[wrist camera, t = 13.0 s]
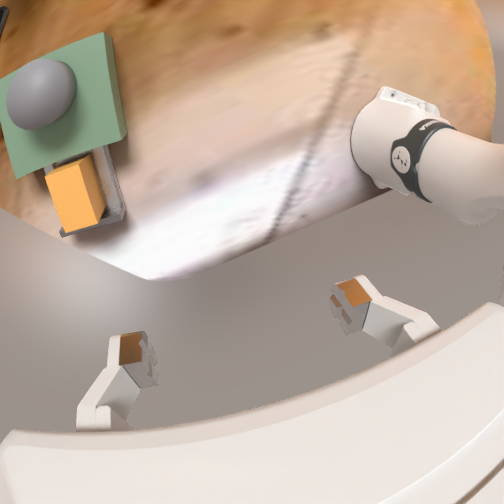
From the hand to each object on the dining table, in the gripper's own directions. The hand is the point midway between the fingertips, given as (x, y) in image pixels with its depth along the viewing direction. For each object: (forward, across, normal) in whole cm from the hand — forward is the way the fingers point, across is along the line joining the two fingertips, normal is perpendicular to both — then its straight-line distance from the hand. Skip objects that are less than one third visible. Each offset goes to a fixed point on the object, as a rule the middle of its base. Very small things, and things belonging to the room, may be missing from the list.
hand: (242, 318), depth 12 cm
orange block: (+30, +16, +1) cm, 34 cm away
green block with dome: (+31, +16, -11) cm, 37 cm away
